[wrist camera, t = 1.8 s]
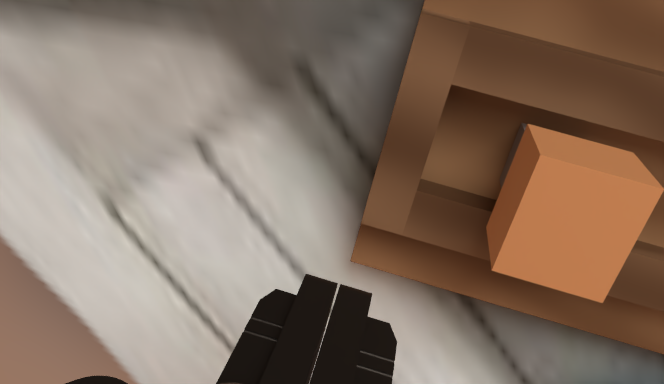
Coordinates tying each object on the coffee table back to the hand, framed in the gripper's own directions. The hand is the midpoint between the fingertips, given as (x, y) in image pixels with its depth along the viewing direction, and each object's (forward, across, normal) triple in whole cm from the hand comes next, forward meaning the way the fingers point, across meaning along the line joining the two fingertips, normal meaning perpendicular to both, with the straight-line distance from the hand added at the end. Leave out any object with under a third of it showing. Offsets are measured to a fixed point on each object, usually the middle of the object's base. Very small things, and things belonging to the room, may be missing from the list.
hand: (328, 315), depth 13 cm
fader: (+15, -7, 0) cm, 16 cm away
